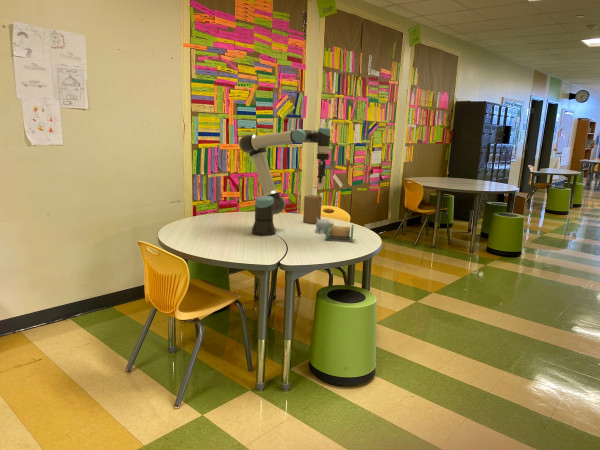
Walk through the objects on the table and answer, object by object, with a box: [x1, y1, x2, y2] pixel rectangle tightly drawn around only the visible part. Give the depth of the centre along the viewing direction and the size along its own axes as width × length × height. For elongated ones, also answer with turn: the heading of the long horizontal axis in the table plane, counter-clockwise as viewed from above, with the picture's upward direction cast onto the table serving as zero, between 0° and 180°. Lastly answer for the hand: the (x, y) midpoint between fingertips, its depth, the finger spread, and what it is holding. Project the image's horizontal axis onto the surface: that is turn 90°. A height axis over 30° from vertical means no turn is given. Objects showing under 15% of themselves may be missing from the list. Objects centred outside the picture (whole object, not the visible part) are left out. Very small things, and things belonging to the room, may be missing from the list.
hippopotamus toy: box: [314, 217, 335, 235], centre depth 286 cm, size 11×15×10 cm
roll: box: [329, 225, 351, 238], centre depth 267 cm, size 12×7×7 cm, turn 82°
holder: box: [325, 222, 355, 243], centre depth 267 cm, size 16×10×9 cm, turn 82°
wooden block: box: [302, 194, 323, 225], centre depth 318 cm, size 10×10×20 cm
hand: (320, 187), depth 270 cm, fingers open, 13 cm apart
